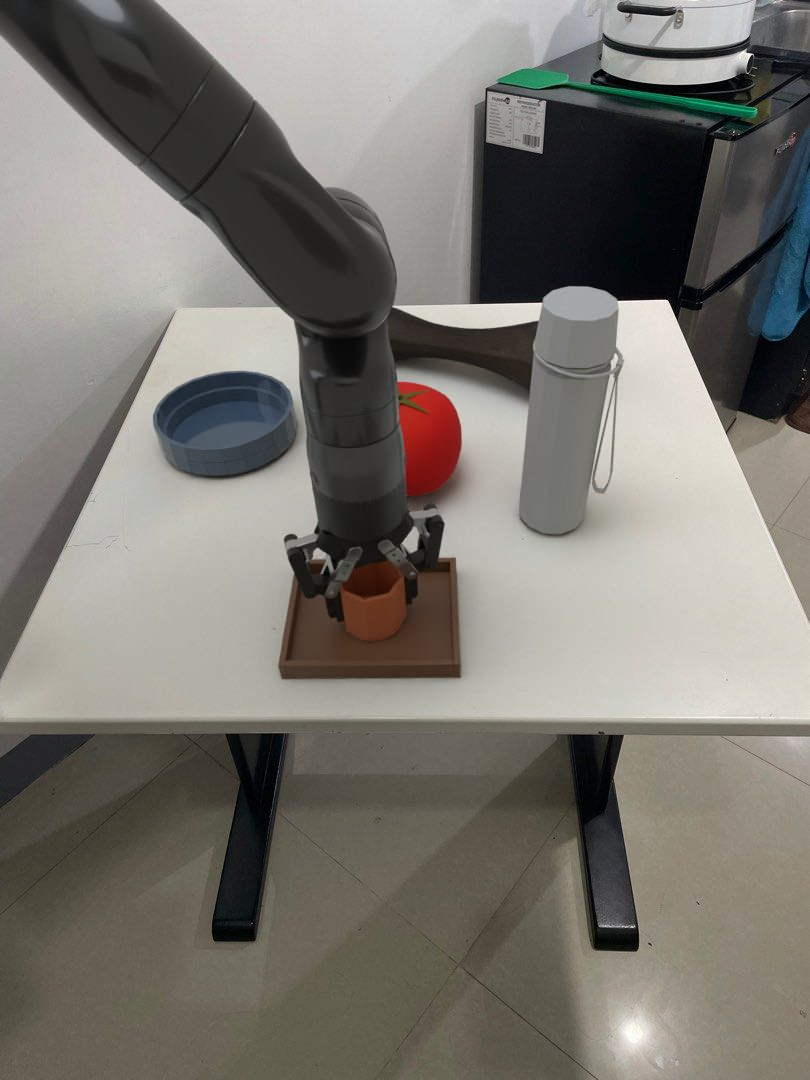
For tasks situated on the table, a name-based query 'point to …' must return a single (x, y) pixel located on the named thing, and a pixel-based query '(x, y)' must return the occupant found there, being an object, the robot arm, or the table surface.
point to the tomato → (428, 437)
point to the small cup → (374, 601)
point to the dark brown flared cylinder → (466, 345)
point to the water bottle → (568, 406)
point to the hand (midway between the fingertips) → (372, 606)
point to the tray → (409, 653)
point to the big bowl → (225, 423)
